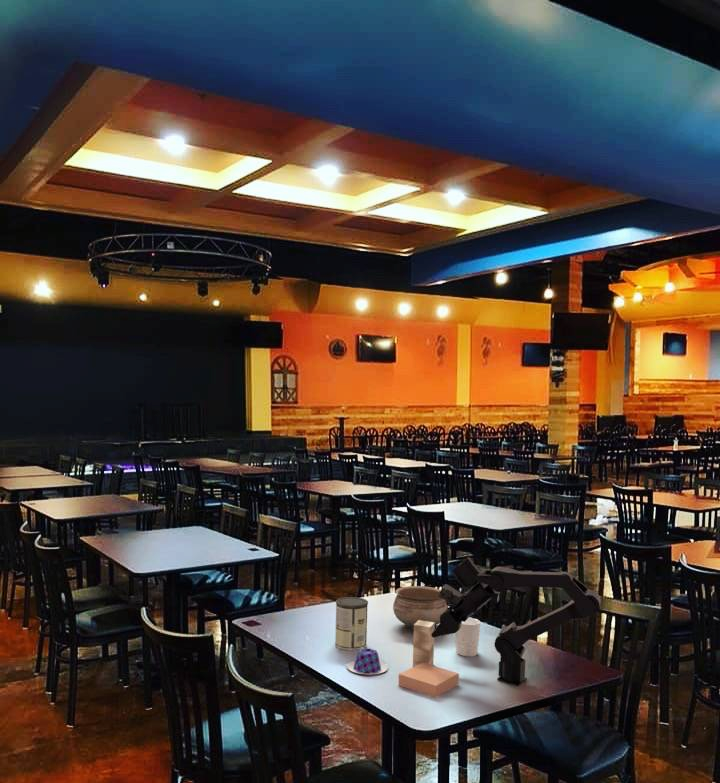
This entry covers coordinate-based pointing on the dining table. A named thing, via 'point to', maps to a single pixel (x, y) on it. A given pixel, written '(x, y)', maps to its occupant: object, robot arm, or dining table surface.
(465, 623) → the white cup
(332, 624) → the dining table surface
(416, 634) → the maple block
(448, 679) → the terracotta base
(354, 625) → the coffee can
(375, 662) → the pudding
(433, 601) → the cooking pot
